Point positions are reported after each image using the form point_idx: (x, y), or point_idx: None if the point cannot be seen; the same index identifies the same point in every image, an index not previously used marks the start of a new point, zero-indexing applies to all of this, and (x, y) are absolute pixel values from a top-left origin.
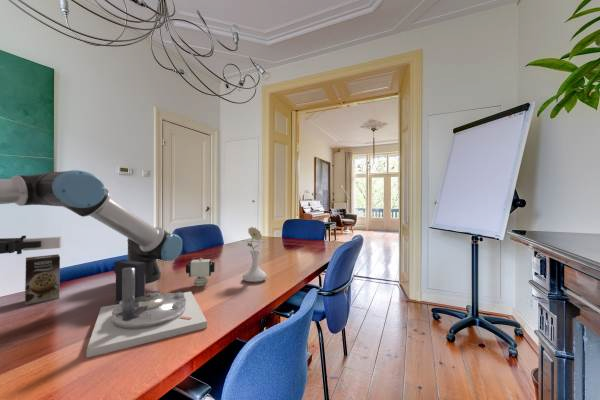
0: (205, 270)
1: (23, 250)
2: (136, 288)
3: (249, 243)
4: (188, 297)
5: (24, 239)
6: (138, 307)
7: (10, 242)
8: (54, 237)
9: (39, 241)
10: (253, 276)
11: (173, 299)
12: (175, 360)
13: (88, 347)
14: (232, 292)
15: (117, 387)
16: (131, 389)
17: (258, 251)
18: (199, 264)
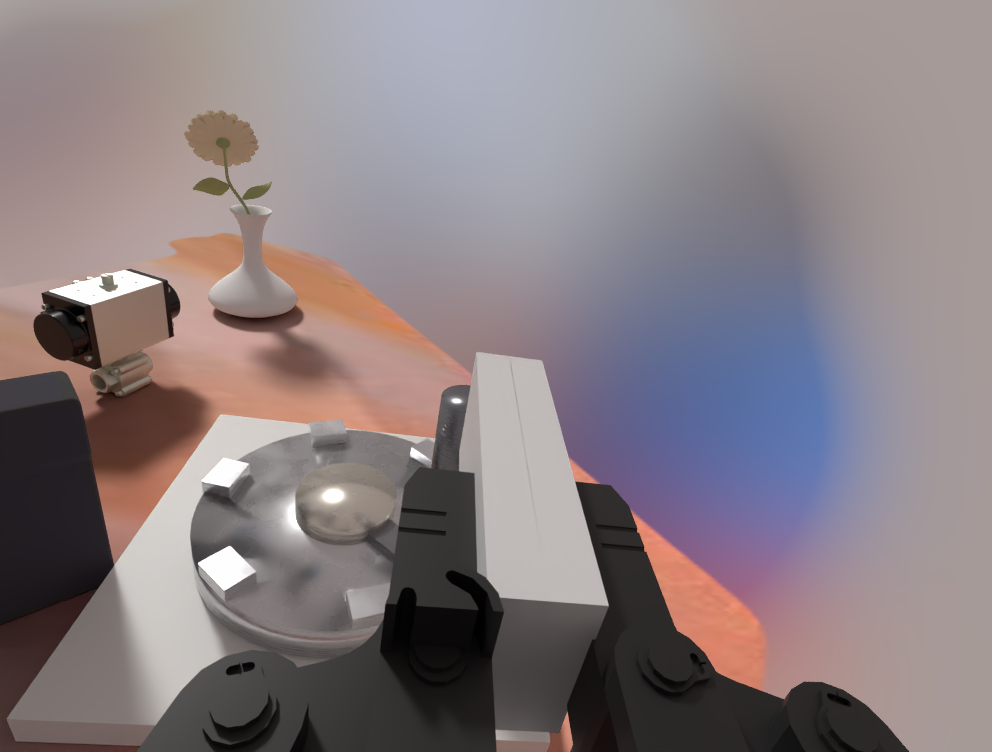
0: (153, 321)
1: (558, 725)
2: (92, 515)
3: (217, 181)
4: (280, 432)
5: (599, 593)
6: (347, 543)
7: (884, 727)
8: (533, 381)
9: (607, 487)
10: (280, 297)
11: (346, 453)
12: (647, 545)
13: (535, 736)
14: (303, 363)
15: (736, 664)
16: (748, 636)
17: (255, 209)
18: (129, 303)
